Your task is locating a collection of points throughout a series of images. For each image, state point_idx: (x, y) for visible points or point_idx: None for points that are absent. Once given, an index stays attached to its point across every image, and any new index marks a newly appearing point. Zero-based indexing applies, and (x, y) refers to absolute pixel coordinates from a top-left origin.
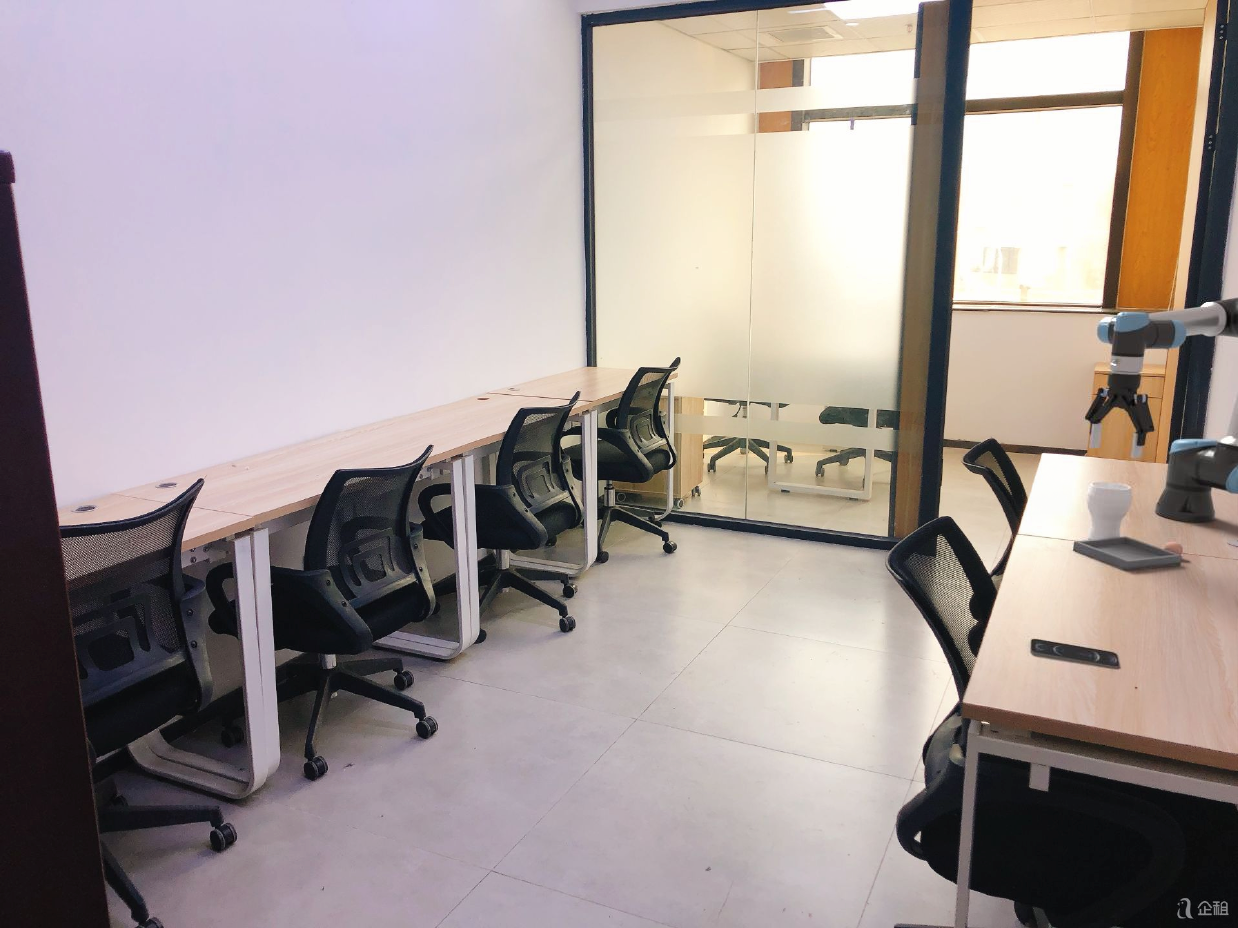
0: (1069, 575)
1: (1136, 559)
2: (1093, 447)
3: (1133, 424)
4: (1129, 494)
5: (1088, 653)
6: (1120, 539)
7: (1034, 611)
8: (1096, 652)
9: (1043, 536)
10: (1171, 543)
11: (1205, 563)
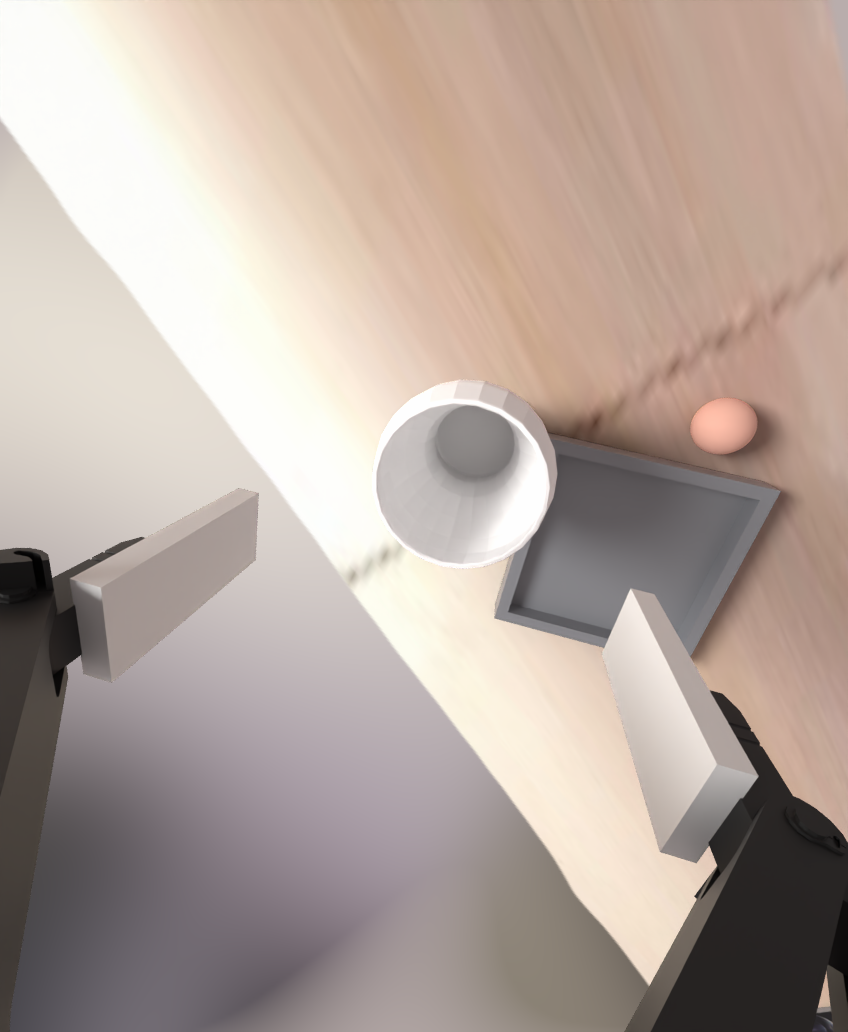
0: (602, 764)
1: (692, 637)
2: (253, 546)
3: (664, 963)
4: (553, 474)
5: (818, 1024)
6: None
7: (667, 939)
8: (826, 1018)
9: (375, 555)
10: (728, 446)
11: (823, 391)
